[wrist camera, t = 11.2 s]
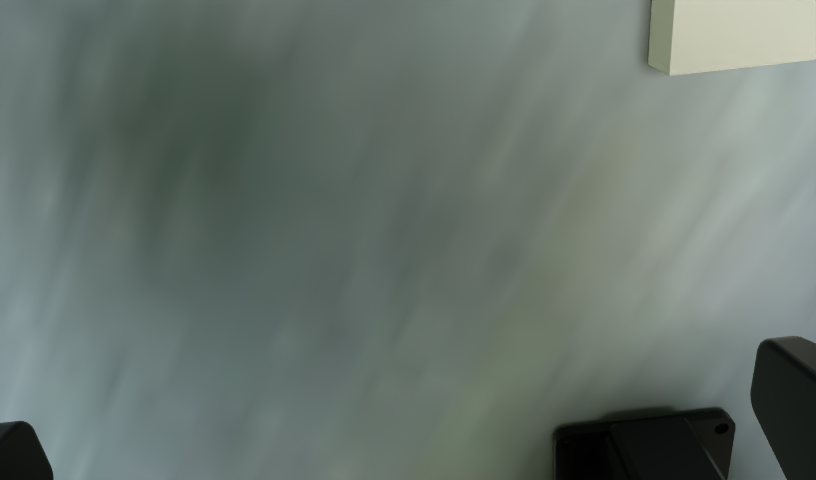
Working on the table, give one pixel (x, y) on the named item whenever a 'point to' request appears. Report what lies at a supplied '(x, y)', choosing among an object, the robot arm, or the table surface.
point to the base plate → (730, 34)
